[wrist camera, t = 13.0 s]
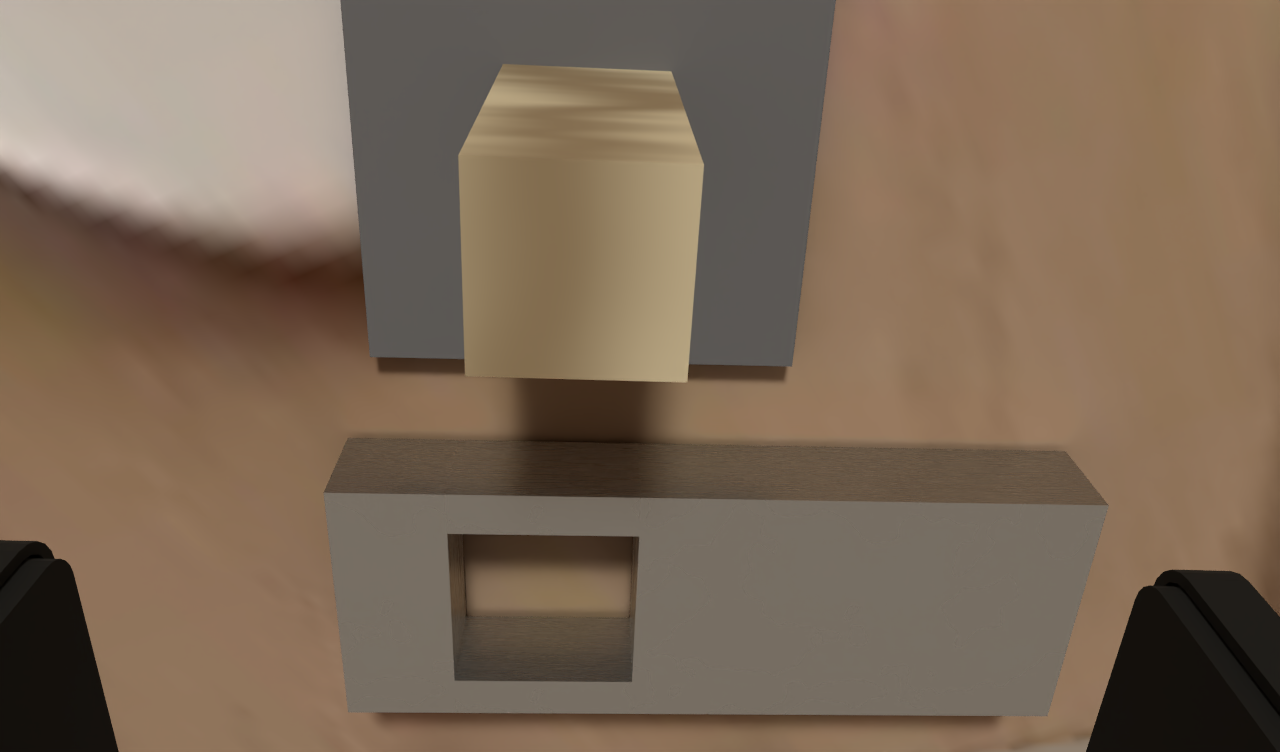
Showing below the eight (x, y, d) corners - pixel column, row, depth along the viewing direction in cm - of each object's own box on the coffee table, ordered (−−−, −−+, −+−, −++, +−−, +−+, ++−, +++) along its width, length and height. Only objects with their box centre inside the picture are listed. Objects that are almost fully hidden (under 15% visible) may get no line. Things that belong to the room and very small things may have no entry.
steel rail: (1065, 451, 32) (1108, 505, 29) (1013, 651, 35) (1047, 716, 33) (347, 438, 31) (323, 493, 28) (368, 645, 34) (348, 712, 32)
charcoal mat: (841, -92, 25) (846, -92, 24) (788, 357, 30) (792, 366, 30) (337, -115, 24) (331, -115, 24) (374, 348, 29) (369, 356, 29)
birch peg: (671, 71, 26) (703, 164, 18) (661, 231, 28) (687, 382, 20) (503, 64, 26) (458, 154, 17) (504, 225, 27) (464, 376, 19)
